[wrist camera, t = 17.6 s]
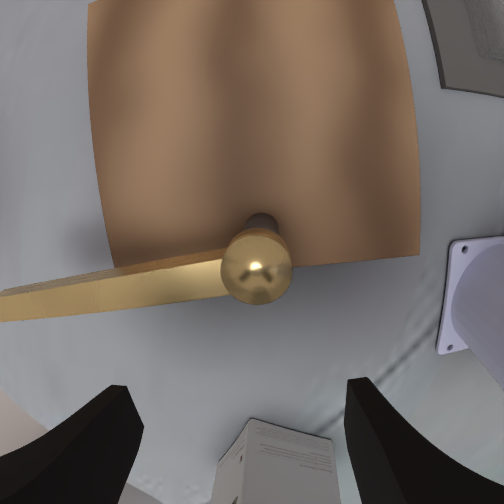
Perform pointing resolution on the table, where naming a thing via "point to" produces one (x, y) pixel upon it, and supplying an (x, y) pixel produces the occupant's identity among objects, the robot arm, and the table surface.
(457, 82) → the rubber mat
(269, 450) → the supplement box
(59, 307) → the lever
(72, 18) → the table surface
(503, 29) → the grey block
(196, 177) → the wooden base
